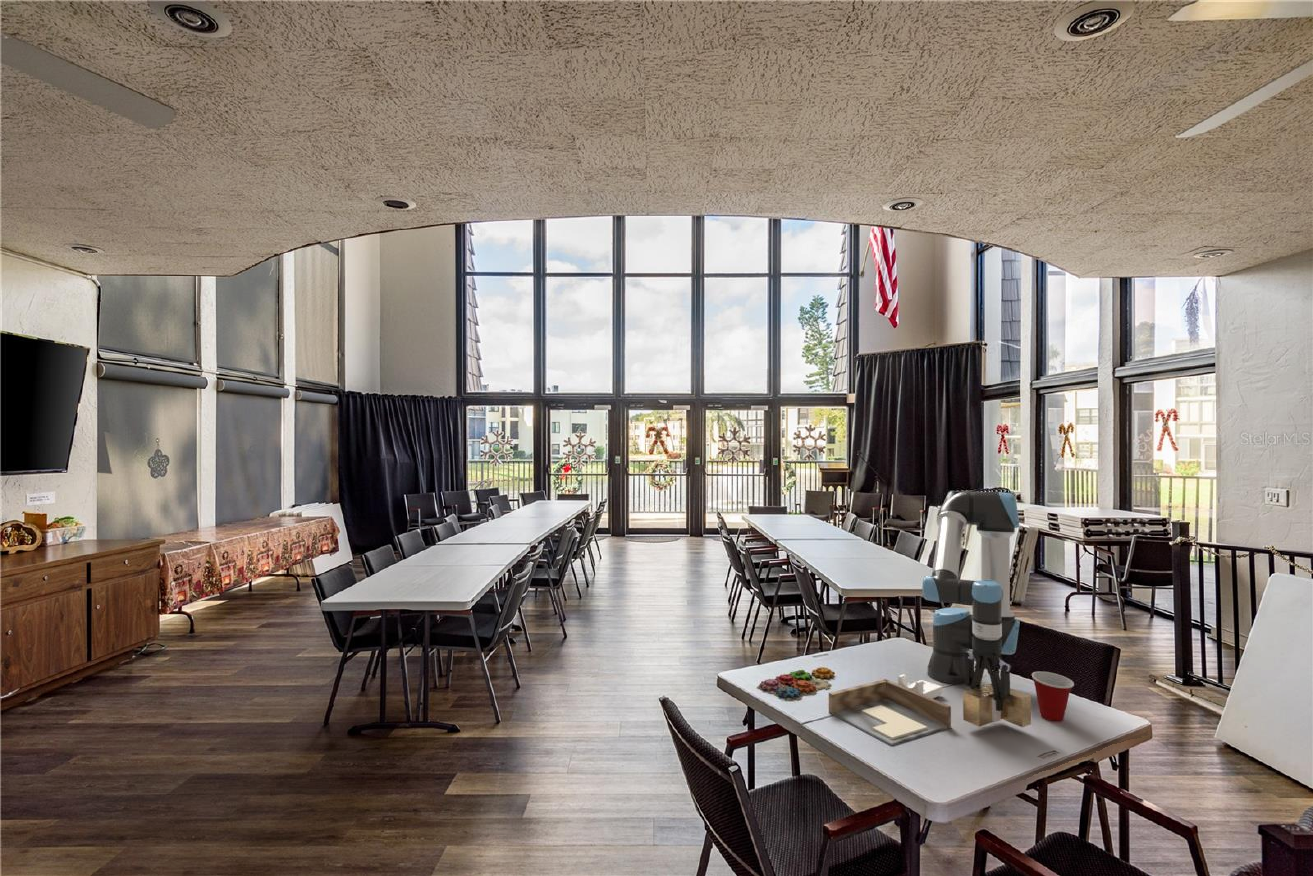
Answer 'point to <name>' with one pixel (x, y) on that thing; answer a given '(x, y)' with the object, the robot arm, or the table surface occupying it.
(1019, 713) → the wooden l-shaped block
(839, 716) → the arena
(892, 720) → the pad
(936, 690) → the bracket
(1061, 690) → the plastic cup
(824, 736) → the table surface
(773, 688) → the gear puzzle
